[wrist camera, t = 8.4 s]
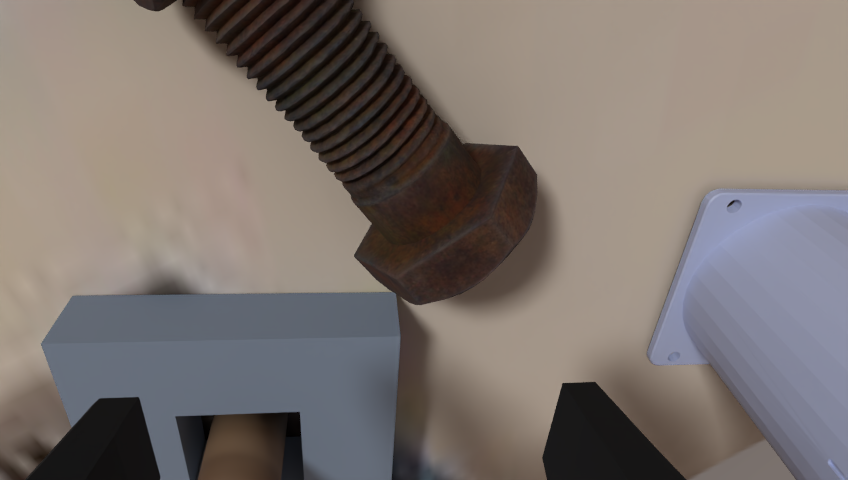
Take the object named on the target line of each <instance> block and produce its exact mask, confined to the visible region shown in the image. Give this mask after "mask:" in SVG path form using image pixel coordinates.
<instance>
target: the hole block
mask: <svg viewBox="0 0 848 480" xmlns="http://www.w3.org/2000/svg"><path fill="white" fill-rule="evenodd" d="M400 339H401V335H400V326H399V317H398V309H397V300H396V294H395V293H394V292H379V293H287V294H196V295H104V296H72V298H71V299H70V301H69V302H68V304H67V305H66V307H65V308H64V310H63V311H62V313H61V314H60V316H59V317H58V319H57V320H56V322H55V323H54V325H53V326H52V328H51V329H50V331H49V332H48V334H47V335H46V337H45V338H44V340H43V341H42V343H41V346H42V348H43V351H44V354H45V356H46V359H47V362H48V365H49V367H50V370H51V373H52V375H53V378H54V381H55V383H56V386H57V389H58V392H59V394H60V397H61V400H62V402H63V405H64V408H65V410H66V413H67V416H68V419H69V421H70V424H71V427H73V426H74V425H75V424H76V423H77V422H78V420H79V419H80V418H81V417H82V416H83V415H84V414H85V413H86V412H87V410H88V409H89V408H90V407H91V406H92V405H93V404H94V403H95V402H96V401H97V400H98V399H99V398H123V397H139V399H140V402H141V406H142V410H143V413H144V417H145V421H146V425H147V428H148V432H149V436H150V440H151V443H152V447H153V451H154V454H155V458H156V462H157V466H158V469H159V473H160V480H198V476H199V472H200V468H201V464H202V460H203V456H204V452H205V448H206V444H207V440H205V435H204V430H203V424H202V419H201V415H225V414H252V413H279V412H300V421H301V436H298V437H286V439H285V448H284V457H283V466H282V475H281V480H392V465H393V449H394V433H395V417H396V402H397V386H398V370H399V354H400Z"/></svg>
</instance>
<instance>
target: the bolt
mask: <svg viewBox="0 0 848 480" xmlns="http://www.w3.org/2000/svg"><path fill="white" fill-rule="evenodd" d="M134 1H135V2H136V3H137V4H138V5H139V6H141V7H143V8H146V9H148V10H152V11H161V10H163V9H165V8H166V7H168V6H169V5H171V4H172V3H174V2H175V1H177V0H134ZM353 4H354V1H353V0H183V6H185V7H195V14H194V19H206V27H205V31H216V32H217V38H216V43H225V44H228V46H227V53H226V55H227V56H234V55H238V60H237V67H246V66H247V67H248V72H247V78H248V79H251V78H258V82H257V86H256V87H257V89H258V90H262V89H267V94H266V99H267V101H273V100H277V101H276V105H275V108H276V110H277V111H284V110H286V112H285V119H286V120H287V121H294V120H295V121H294V125H293V126H294V128H295V130H297V131H303V133H302V137H303V139H304V140H305V141H307V142H311V145H310V149H311V150H312V151H314V152H317V153H318V152H319V160H320V161H322V162H325V163H327V164H326V166H327V168H328V169H329V171H330V172H335V173H334V175H335V177H336V179H338V180H340V181H342V184H343V186H344V188H345V189H346V190H347V191H348V192H349V193H350V194H351V199H352V201H353V202H354V204H355V205H356V206H357V207H358V208H359V209H360V210H361V211H362V213H363V214H364V215H365V216H366V217H367V218H368V219H369V220H370V222H371V223H372V225H371V226H370V228H369V230H368V232H367V233H366V235H365V237H364V239H363V240H362V242H361V244H360V246H359V247H358V249H357V251H356V253H355V254H354V257H355V258H356V259H357V260H358V261H359V262H360V263H361V264H362V265H363V266H364V267H365V268H366V269H367V270H368V271H369V272H370V273H371V274H372V276H373V277H374V278H375V279H376V280H378V281H379V282H380V283H381V284H383V285H384V286H385V287H387V288H388V289H389V290H391V291H392V292H394V293H395V294H397V295H398V296H400V297H402V298H403V299H405V300H406V301H408V302H409V303H412V304H415V305H422V304H427V303H431V302H435V301H439V300H444V299H447V298H450V297H453V296H456V295H458V294H461V293H463V292H465V291H467V290H469V289H470V288H472V287H474V286H475V285H477V284H478V283H480V282H481V281H483V280H484V279H485V278H486V277H487V276H488V275H489V274H490V273H491V272H492V271H493V270H495V269H496V268H497V267H498V266H499V265H500V264H501V263H502V262H503V261H504V259H505V258H506V257H507V256H508V255H509V254H510V253H511V252H512V250H513V249H514V248H515V247H516V246H517V244H518V243H519V242H520V241H521V239H522V238H523V237H524V236H525V234H526V233H527V231H528V230H529V228H530V225H531V223H532V220H533V217H534V213H535V208H536V200H537V174H536V173H535V171H534V169H533V168H532V166H531V165H530V163H529V162H528V160H527V159H526V157H525V156H524V154H523V153H522V151H521V150H520V148H519V147H518V146H506V145H488V144H470V143H465V144H464V145H463V144H462V143H461V142H460V140H459V139H458V138H457V136H456V135H455V133H454V132H453V131H452V129H451V128H450V127H449V125H448V124H447V123H446V122H444V121H441V119H440V118H439V117H438V116H436V115H435V113H434V111H433V109H432V108H431V107H430V105H427V100H426V99H425V98H424V97H423V96H422V95H420V94H419V89H418V88H417V87H416V86H415V85H412V79H411V78H410V77H409V76H407V75H404V73H405V72H404V70H403V68H402V67H401V65H400V64H395V63H396V58H395V56H394V55H392V54H386V53H387V48H388V47H387V45H386V44H385V43H377V42H378V39H379V34H378V32H369V30H370V27H371V24H370V21H361V18H362V15H363V14H362V12H361V10H360V9H356V10H351V9H352V7H353Z"/></svg>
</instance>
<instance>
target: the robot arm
mask: <svg viewBox="0 0 848 480" xmlns="http://www.w3.org/2000/svg"><path fill="white" fill-rule="evenodd" d="M733 200H735V202H734V203H733V204H732V205H731V206H730V207H727V206H728V204H729V203H730V202H731V201H733ZM671 353H672V354H671ZM647 356H648V358H649V360H650V361H651V363H652V364H654V365H687V364H711V366H712V367H713V368H714V370H715V371H716V372H717V374H718V375H719V377H720V378H721V379H722V381H723V382H724V383H725V385H726V386H727V387H728V389H729V390H730V391H731V393H732V394H733V395H734V397H735V398H736V399H737V401H738V402H739V403H740V405H741V406H742V407H743V409H744V410H745V412H746V413H747V414H748V416H749V417H750V418H751V420H752V421H753V422H754V424H755V425H756V426H757V428H758V429H759V430H760V432H761V433H762V434H763V436H764V437H765V438H766V440H767V441H768V442H769V444H770V445H771V447H772V448H773V449H774V451H775V452H776V453H777V455H778V456H779V457H780V458H781V460H782V461H783V463H784V464H785V465H786V467H787V468H788V469H789V471H790V472H791V473H792V475H793V476H794V477H795V479H796V480H848V190H779V189H715V190H713V191H711V192H709V193H708V194H707V195H706V196H705V197H704V199H703V201H702V203H701V206H700V208H699V211H698V214H697V217H696V219H695V222H694V225H693V228H692V230H691V233H690V236H689V239H688V241H687V244H686V247H685V250H684V252H683V255H682V258H681V260H680V263H679V266H678V269H677V271H676V274H675V277H674V280H673V282H672V285H671V288H670V291H669V293H668V296H667V299H666V302H665V304H664V307H663V310H662V313H661V315H660V318H659V321H658V324H657V326H656V329H655V332H654V334H653V337H652V340H651V343H650V345H649V348H648V351H647ZM542 458H543V463H544V467H545V472H546V477H547V480H686V479H685V478H684V477H683V476H682V475H681V474H680V473H679V472H678V471H677V470H676V469H675V468H674V467H673V465H672V464H671V463H670V462H669V461H668V460H667V459H666V458H665V457H664V456H663V455H662V454H661V453H660V452H659V451H658V450H657V449H656V448H655V447H654V445H653V444H652V443H651V442H650V441H649V440H648V439H647V438H646V437H645V436H644V435H643V434H642V432H641V431H640V430H639V429H638V428H637V427H636V426H635V425H634V424H633V423H632V422H631V421H630V419H629V418H628V417H627V416H626V415H625V414H624V413H623V412H622V411H621V410H620V408H619V407H618V406H617V405H616V404H615V403H614V402H613V401H612V400H611V399H610V398H609V397H608V395H607V394H606V393H605V392H604V391H603V390H602V389H601V388H600V387H599V386H598V385H597V384H596V382H583V383H563V384H562V388H561V391H560V395H559V399H558V402H557V406H556V410H555V413H554V417H553V421H552V424H551V428H550V432H549V435H548V439H547V443H546V446H545V450H544V454H543V457H542ZM25 480H160V473H159V469H158V466H157V462H156V458H155V454H154V451H153V447H152V443H151V440H150V436H149V432H148V428H147V425H146V421H145V417H144V413H143V410H142V406H141V402H140V399H139V397H123V398H99V399H98V400H97V401H96V402H95V403H94V404H93V405H92V406H91V407H90V408H89V409H88V410H87V412H86V413H85V414H84V415H83V416H82V417H81V418H80V419H79V420H78V422H77V423H76V424H75V425H74V426H73V427H72V428H71V429H70V431H69V432H68V433H67V434H66V435H65V436H64V437H63V438H62V440H61V441H60V442H59V443H58V444H57V445H56V446H55V447H54V448H53V450H52V451H51V452H50V453H49V454H48V455H47V456H46V457H45V458H44V460H43V461H42V462H41V463H40V464H39V465H38V466H37V467H36V468H35V469H34V471H33V472H32V473H31V474H30V475H29V476H28V477H27V478H26V479H25Z"/></svg>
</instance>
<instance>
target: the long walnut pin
mask: <svg viewBox="0 0 848 480" xmlns="http://www.w3.org/2000/svg"><path fill="white" fill-rule="evenodd" d="M288 413H289V412H279V413H252V414H225V415H214V416H213V420H212V424H211V428H210V432H209V436H208V440H207V444H206V448H205V452H204V456H203V460H202V464H201V468H200V472H199V476H198V480H281V475H282V466H283V457H284V448H285V439H286V431H287V422H288Z"/></svg>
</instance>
